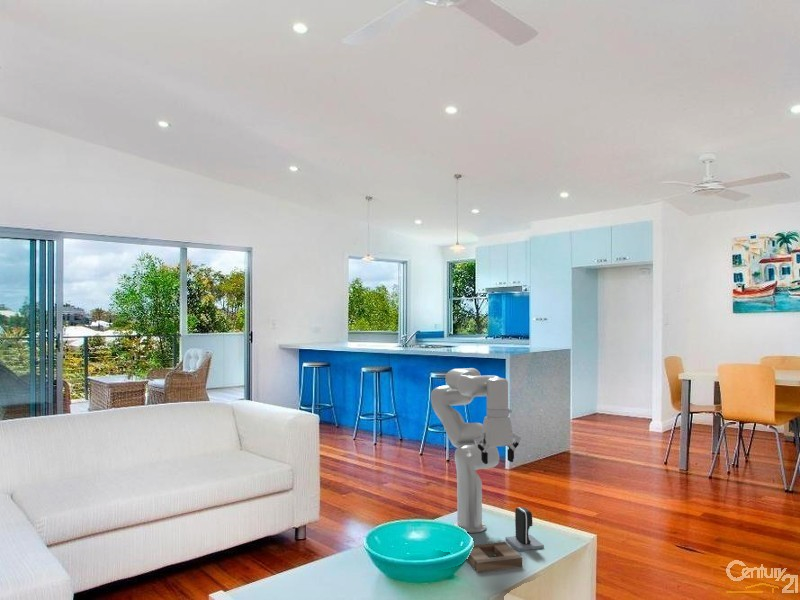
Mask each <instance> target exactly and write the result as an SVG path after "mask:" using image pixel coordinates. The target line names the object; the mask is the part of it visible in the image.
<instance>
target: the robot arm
mask: <svg viewBox="0 0 800 600" xmlns="http://www.w3.org/2000/svg"><path fill="white" fill-rule="evenodd" d="M445 383H446V385H441V386H436V387H434V389H432V390H431V393H430V402H431V407H432V410H433V412H434V413H435V415H436V416H437V418H438V419H439V420H440V422H441V424H442V426H443V428H444V430H445V433H446V435H447V436H448V439H449V441H450V443H451V445H452V446H453V447H455V448H456V449H455V451H454V455H453V456H454V463H455V468H456V485H457V486H456V492H457V493H456V498H457V499H456V503H457V504H456V505H457V507H456V510H457V512H456V514H457V516H456V520H455V521H454V522H453V525H455V526H459V527H461V528H463V529H465V530H466V531H467V532H469V534H475V533H476V534H477V533H481V532H484V531H486V529H487V524H486V522H484V521H483V483H482V478H481V477H480V476H479V474H478V473H477V470H484V469H492V468H495V467H496V466H498V465H499V463H500V453H499V450H498V448H497V447H508V448H507V461H509V462H510V463H514V459H515V452H516V448H517V447H519V443H520V441H521V439H522V437H521V436H518V435H517V434H515V433H513V427H512V421H511V417H510V416H509V415H510V414H512V412H513V410H512V409H510V408H509V381H508V380H507V379H506V378H503V377H500V376H498V375H494V374H493V375H492V374H491V375H488V374H487V375H481V372H480V371H479V370H478V369H476V368H474V367H469V368H468V367H467V368H465V367H463V368H453V369H451V370H448V372H447V373H446V374H445ZM476 397H477V398H478V397H480V398H481V397H486V416H484V419H483V421H482V422H483V423H480V422H466V421H465V420H464V418H463V416H462V414H460V412H459V411H458V410H456V409H455V408H453V406H466V405H469V404H470V403H472V401H474V398H476ZM513 439H515V440H514V441H513Z"/></svg>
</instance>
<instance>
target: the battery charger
mask: <svg viewBox="0 0 800 600" xmlns="http://www.w3.org/2000/svg"><path fill="white" fill-rule="evenodd" d="M514 513H515V515H514V516H515V517H514V518H515V519H514V521H515V536H516V538H517V539H518V540H519V541H520V542H522V543H523V544H529V543H531V541H530V540H529V537H528V535H529V529H530V528H531V527H533V513H532V511H530V510H529V509H527V508H526V507H524V506H523V507H522V506H521V507H518V506H517V508H515V511H514Z"/></svg>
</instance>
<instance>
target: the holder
mask: <svg viewBox="0 0 800 600" xmlns="http://www.w3.org/2000/svg"><path fill="white" fill-rule="evenodd" d="M473 545H474V547H473V549H472V551H471V553H470V555H469V557H468V559H467V560H466V561H467V562H468V563H469V564H470V566H471V567H472V566H473V567H474V568H475V569H474V568H473V567H472V568H473V569H474V570H475V571H476V573H485V572H492V571H500V570H508V569H517V568H523V557H522V556H521V555H520V554H519V553H518V551H516V550H514V548H512V546H511V545H510V544H509V543H508V542H506V541H498V542H497V541H496V542H490V543H489V542H488V543H480V544H479V543H478V544H473ZM489 556H494V557H489ZM484 571H485V572H484Z"/></svg>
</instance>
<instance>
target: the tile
mask: <svg viewBox="0 0 800 600" xmlns="http://www.w3.org/2000/svg"><path fill="white" fill-rule="evenodd" d="M528 537H529V540H530V541H531V543H529V544H523V543H522V542H520V541H519V540H518V539H517V538H516V535H515V536H506V537H505V542H506V543H507V544H508V545H509V546H511V547H513V549H515V551H516V552H521V551H522V552H523V551H530V549H532V550H538V549H539V550H540V549H544V548H545V546H544V544H543V543H542V542H540V541H539V540H538V539H536V538H535V537H534V536H532V534H528Z"/></svg>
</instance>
